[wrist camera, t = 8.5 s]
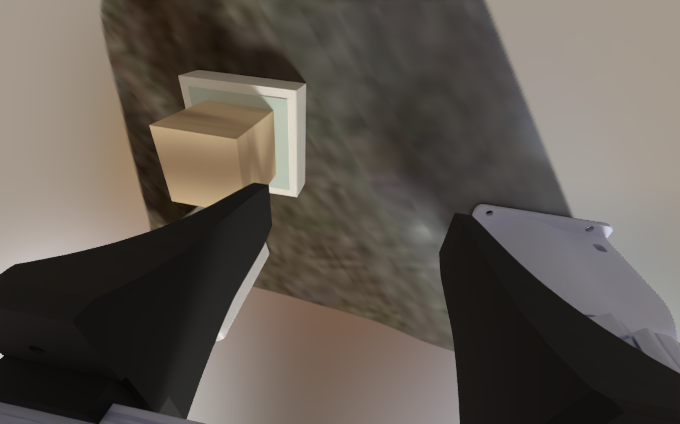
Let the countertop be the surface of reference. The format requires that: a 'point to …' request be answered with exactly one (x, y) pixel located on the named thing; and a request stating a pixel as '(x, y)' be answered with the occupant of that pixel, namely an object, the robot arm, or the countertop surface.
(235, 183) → the oak block
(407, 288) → the countertop surface
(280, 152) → the tile base
